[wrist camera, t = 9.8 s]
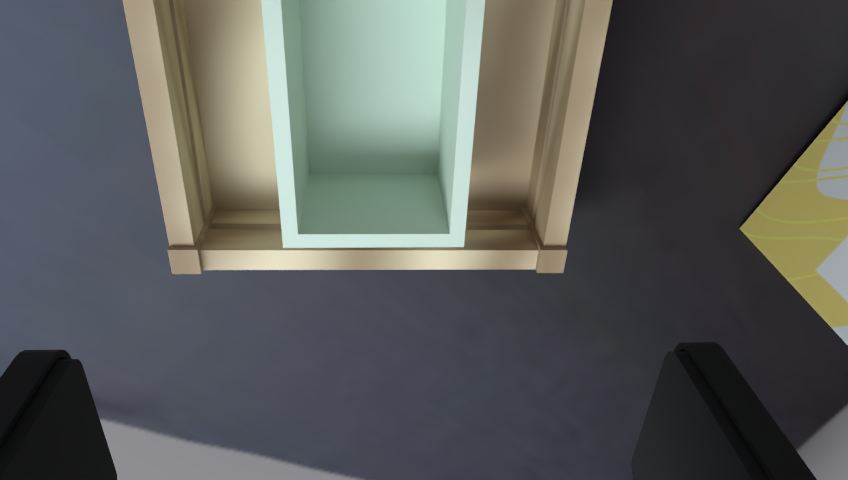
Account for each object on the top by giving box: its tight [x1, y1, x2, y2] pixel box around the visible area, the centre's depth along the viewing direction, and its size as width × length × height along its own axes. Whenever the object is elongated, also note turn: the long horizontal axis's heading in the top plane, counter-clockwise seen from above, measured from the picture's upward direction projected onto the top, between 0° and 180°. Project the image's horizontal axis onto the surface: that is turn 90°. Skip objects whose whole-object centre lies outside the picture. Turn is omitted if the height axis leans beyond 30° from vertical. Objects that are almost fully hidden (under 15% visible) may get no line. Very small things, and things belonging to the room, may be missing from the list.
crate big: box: [123, 0, 613, 274], centre depth 26 cm, size 17×15×5 cm
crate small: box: [261, 0, 485, 248], centre depth 24 cm, size 7×10×6 cm
